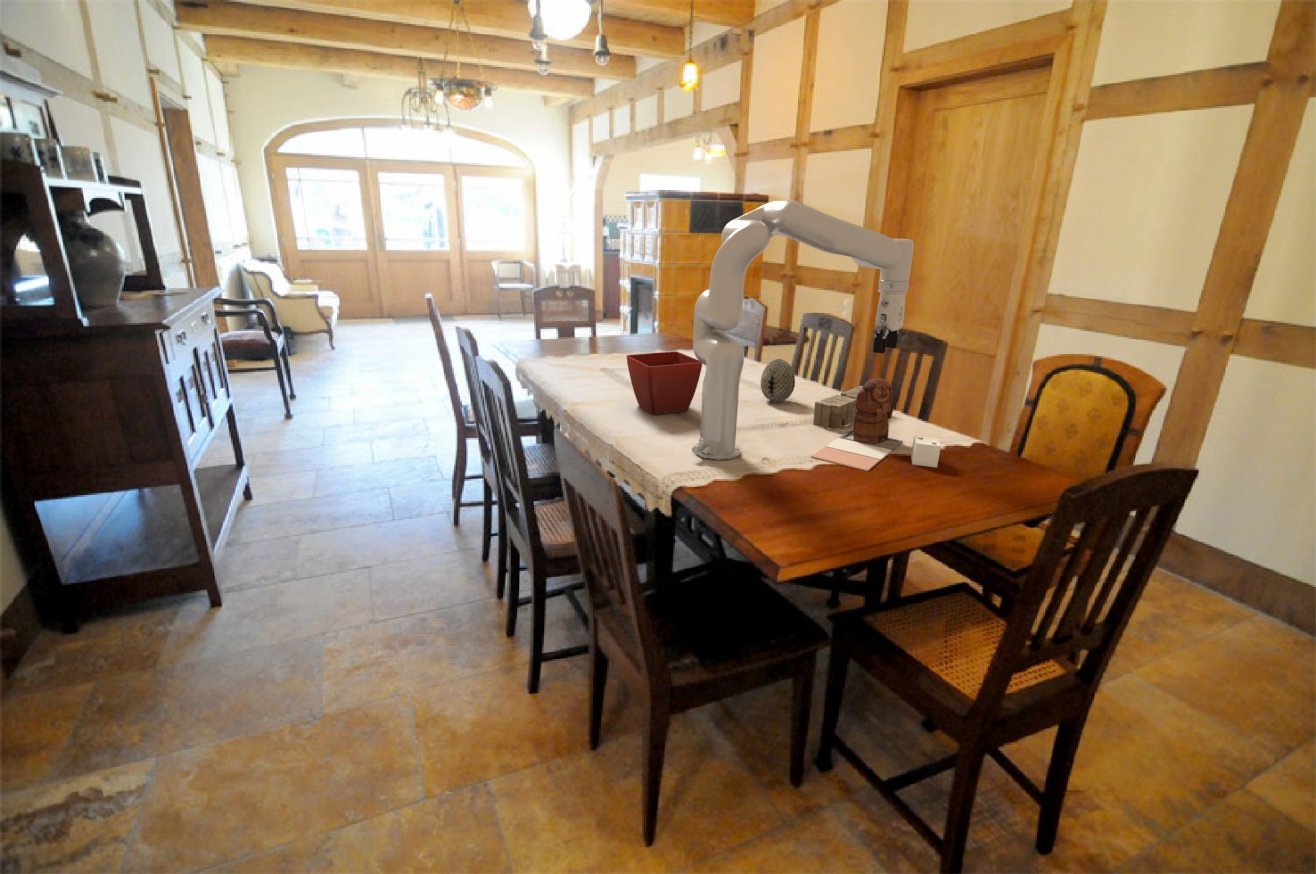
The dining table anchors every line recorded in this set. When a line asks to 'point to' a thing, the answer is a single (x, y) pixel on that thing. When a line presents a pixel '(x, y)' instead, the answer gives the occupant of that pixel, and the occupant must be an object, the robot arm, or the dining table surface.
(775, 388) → the decorative egg
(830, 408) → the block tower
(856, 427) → the wooden figurine
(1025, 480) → the dining table surface
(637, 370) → the plant pot
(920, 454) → the die
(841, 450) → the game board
